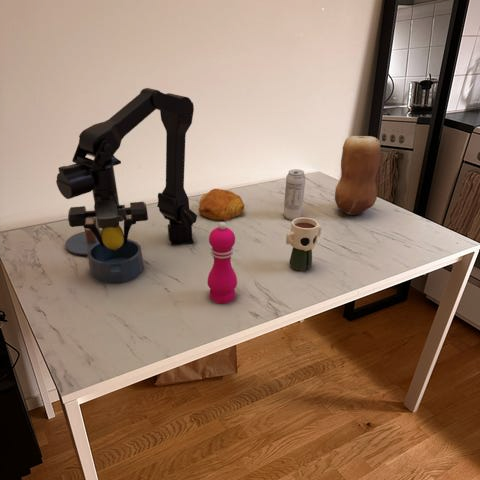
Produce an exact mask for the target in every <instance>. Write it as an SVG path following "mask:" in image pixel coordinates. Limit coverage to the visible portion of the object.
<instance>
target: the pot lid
mask: <svg viewBox="0 0 480 480" xmlns="http://www.w3.org/2000/svg"><path fill="white" fill-rule="evenodd" d="M83 229H84V231H81V232H78V233H74V234H73V235H71V236H70V237H68V239H67V240H66V241H65V243H64V244H65V248H66V250H67V251H68V252H70V253H71V254H75V255H79V256H87V255H88V250H89V249H90V248H91V247H92V246H93V245H95V244H96V243H98V242H99V241H98V239H97V238H96V236H95V235H94V233H93V232H92V231H91V230H90V229H88V228H84V227H83ZM100 232H102V229H100Z"/></svg>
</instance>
